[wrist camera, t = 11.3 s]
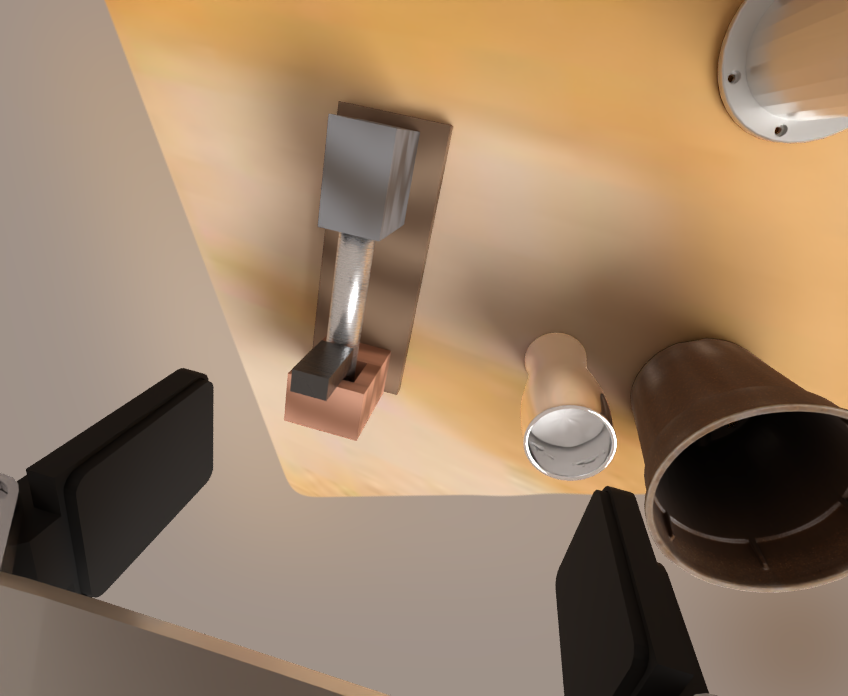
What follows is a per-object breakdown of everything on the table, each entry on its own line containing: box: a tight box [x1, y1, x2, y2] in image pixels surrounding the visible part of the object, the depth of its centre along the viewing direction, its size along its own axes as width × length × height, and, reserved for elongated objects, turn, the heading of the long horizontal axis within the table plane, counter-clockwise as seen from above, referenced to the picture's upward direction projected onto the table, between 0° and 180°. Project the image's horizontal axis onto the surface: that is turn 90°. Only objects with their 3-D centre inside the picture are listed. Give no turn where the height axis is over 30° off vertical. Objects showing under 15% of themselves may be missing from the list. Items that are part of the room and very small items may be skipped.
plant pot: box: [631, 338, 848, 592], centre depth 39 cm, size 16×16×16 cm
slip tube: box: [290, 232, 375, 401], centre depth 38 cm, size 19×3×9 cm, turn 169°
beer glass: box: [520, 333, 617, 481], centre depth 41 cm, size 7×7×15 cm
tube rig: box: [284, 101, 453, 441], centre depth 42 cm, size 27×10×11 cm, turn 169°
